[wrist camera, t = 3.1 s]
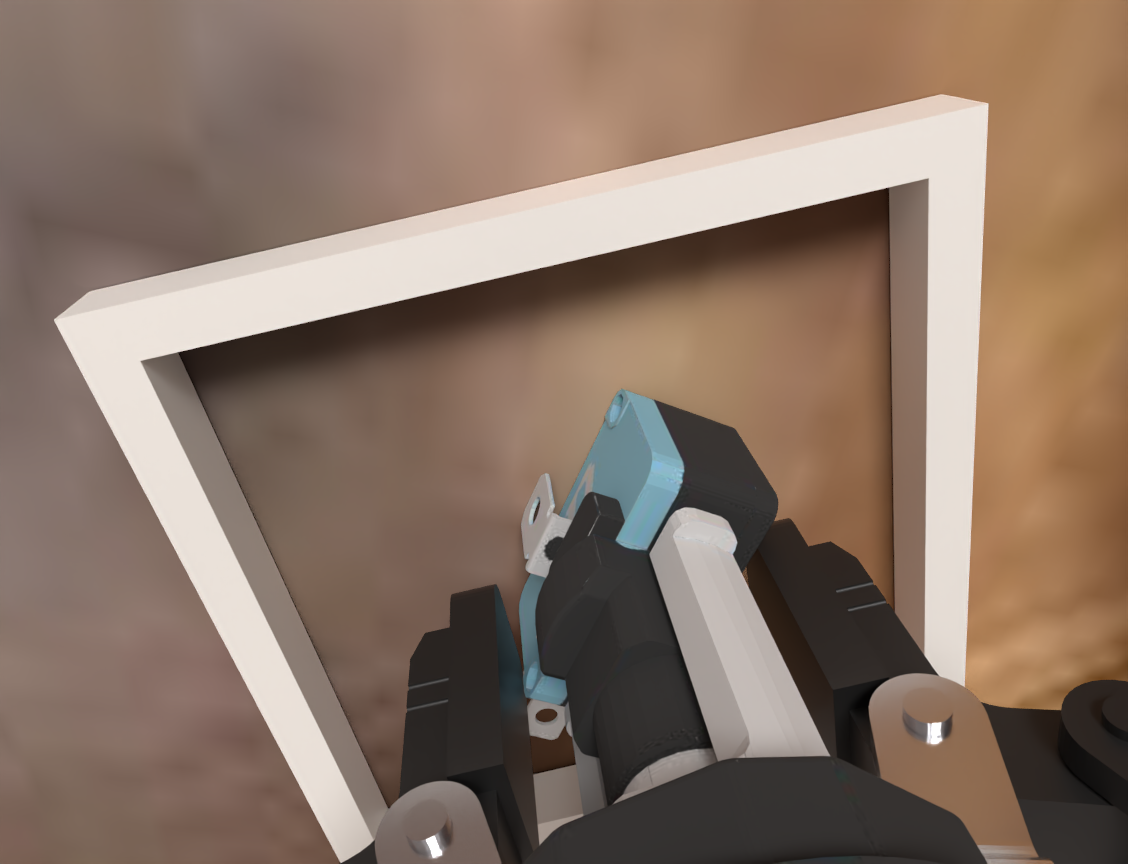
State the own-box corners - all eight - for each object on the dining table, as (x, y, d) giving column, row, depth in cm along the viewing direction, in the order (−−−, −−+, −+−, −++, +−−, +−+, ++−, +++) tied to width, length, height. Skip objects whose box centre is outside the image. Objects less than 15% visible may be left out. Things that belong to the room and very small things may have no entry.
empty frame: (941, 93, 12) (988, 103, 11) (932, 707, 18) (962, 751, 17) (89, 292, 12) (53, 320, 11) (362, 841, 18) (357, 893, 17)
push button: (647, 705, 17) (845, 1468, 8) (393, 642, 16) (300, 1485, 7) (812, 431, 14) (1363, 1114, 6) (526, 327, 13) (656, 1019, 4)
